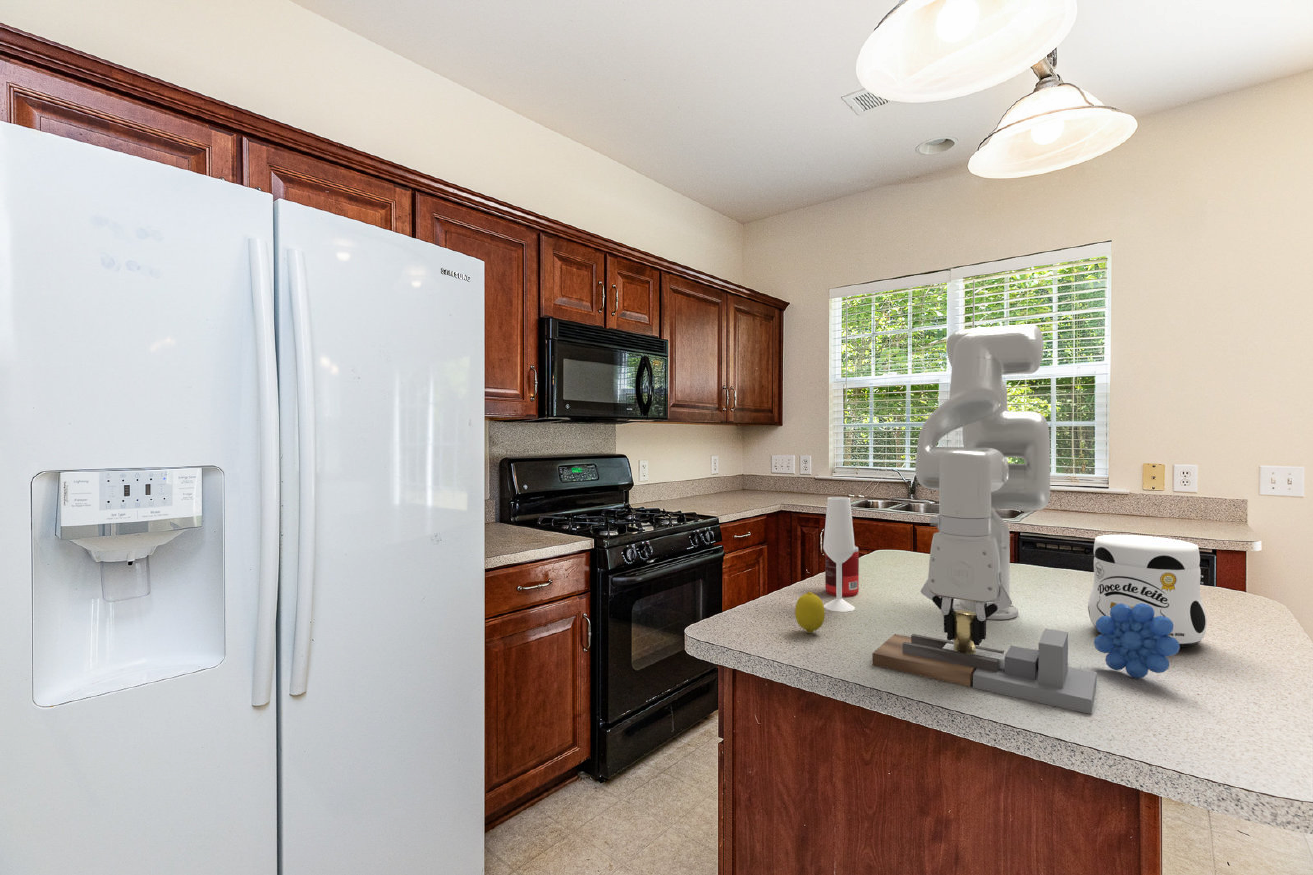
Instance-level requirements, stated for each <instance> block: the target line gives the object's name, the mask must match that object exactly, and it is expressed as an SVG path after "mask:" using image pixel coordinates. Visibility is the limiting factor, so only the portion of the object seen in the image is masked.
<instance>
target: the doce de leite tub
mask: <svg viewBox="0 0 1313 875" xmlns="http://www.w3.org/2000/svg"><path fill="white" fill-rule="evenodd" d="M1093 556H1094V558H1093V584H1092V588H1091V590H1090V593H1089V597H1088V601H1087V610H1088V615H1089V618H1090V622H1091V624H1092V626H1094V627H1095V628H1096V621H1097V620H1098V619H1099V618H1100V617H1102V616H1110V617H1111V615H1110V610H1111V608H1112V607H1113V606H1115V605H1116V604H1120V603H1121V604H1125V605H1128V606H1129V607H1130V608H1131V610H1132V608H1133V607H1134V606H1135V605H1137V604H1140V603H1144V604H1148V605H1150V606H1151V607H1152V608H1153V610H1154V613H1155V614H1154V617H1156V616H1164V617H1167V618H1169V619H1170V620H1171V621H1172V623H1173V626H1174V627H1173V631H1172V632H1171V633H1170V634H1168V635H1167V636H1170V637H1173V638H1175V639H1176V640H1177V641H1178V642H1179V645H1180V648H1183V647H1191V646H1193V645H1197V644H1198V643H1200V642H1202V641H1203V639H1204V637H1205V634H1206V630H1207V626H1208V625H1207V624H1208V619H1207V614H1206V613H1207V612H1206V609H1205V607H1204V603H1203V600H1202V596H1201V573H1202V572H1201V570H1202V569H1201V567H1200V564H1201V563H1200V562H1201V556H1200V549H1199V545H1198V544H1195V543H1193V542H1189V541H1187V540H1186V541H1184V540H1180V539H1173V538H1167V537H1160V536H1159V537H1158V536H1151V535H1137V534H1136V535H1135V534H1134V535H1133V534H1104V535H1098V536H1096V537H1095V538H1094V543H1093Z"/></svg>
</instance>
